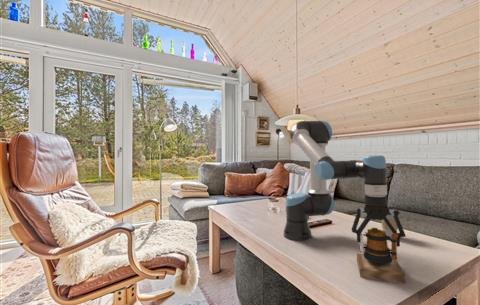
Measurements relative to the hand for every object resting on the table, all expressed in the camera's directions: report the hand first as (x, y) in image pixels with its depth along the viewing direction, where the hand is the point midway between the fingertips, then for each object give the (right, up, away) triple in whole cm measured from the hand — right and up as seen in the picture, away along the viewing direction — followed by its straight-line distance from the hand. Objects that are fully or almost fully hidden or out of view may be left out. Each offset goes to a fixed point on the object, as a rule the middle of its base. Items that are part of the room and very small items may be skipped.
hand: (378, 252), depth 89 cm
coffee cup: (+27, -7, +35) cm, 45 cm away
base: (0, -7, 0) cm, 7 cm away
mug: (+1, -3, -1) cm, 3 cm away
